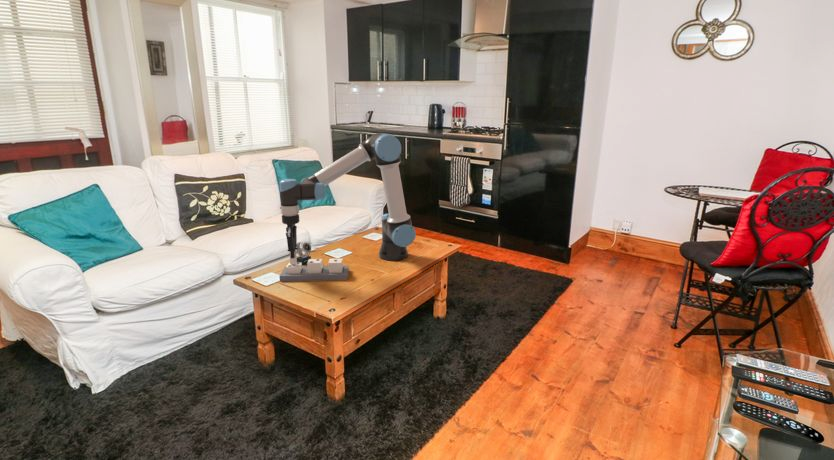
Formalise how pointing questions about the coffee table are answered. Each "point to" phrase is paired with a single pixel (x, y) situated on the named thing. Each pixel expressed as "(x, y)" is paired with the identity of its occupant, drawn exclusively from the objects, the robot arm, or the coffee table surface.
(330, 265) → the white die
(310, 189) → the robot arm
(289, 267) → the white die
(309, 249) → the watch
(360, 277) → the coffee table surface
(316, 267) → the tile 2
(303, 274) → the board
